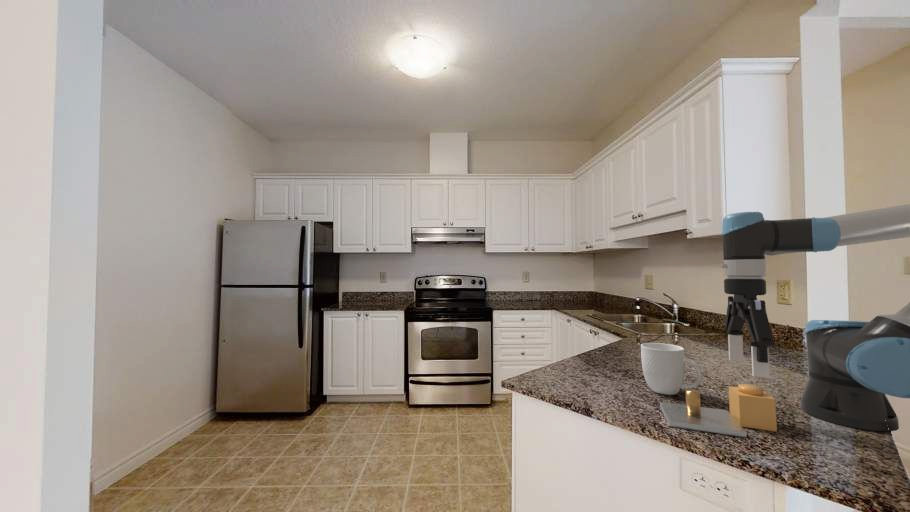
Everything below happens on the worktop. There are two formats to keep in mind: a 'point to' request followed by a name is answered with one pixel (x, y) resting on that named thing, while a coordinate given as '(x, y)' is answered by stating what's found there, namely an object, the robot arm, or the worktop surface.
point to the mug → (666, 368)
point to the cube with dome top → (752, 407)
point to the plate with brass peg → (700, 416)
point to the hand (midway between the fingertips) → (747, 368)
